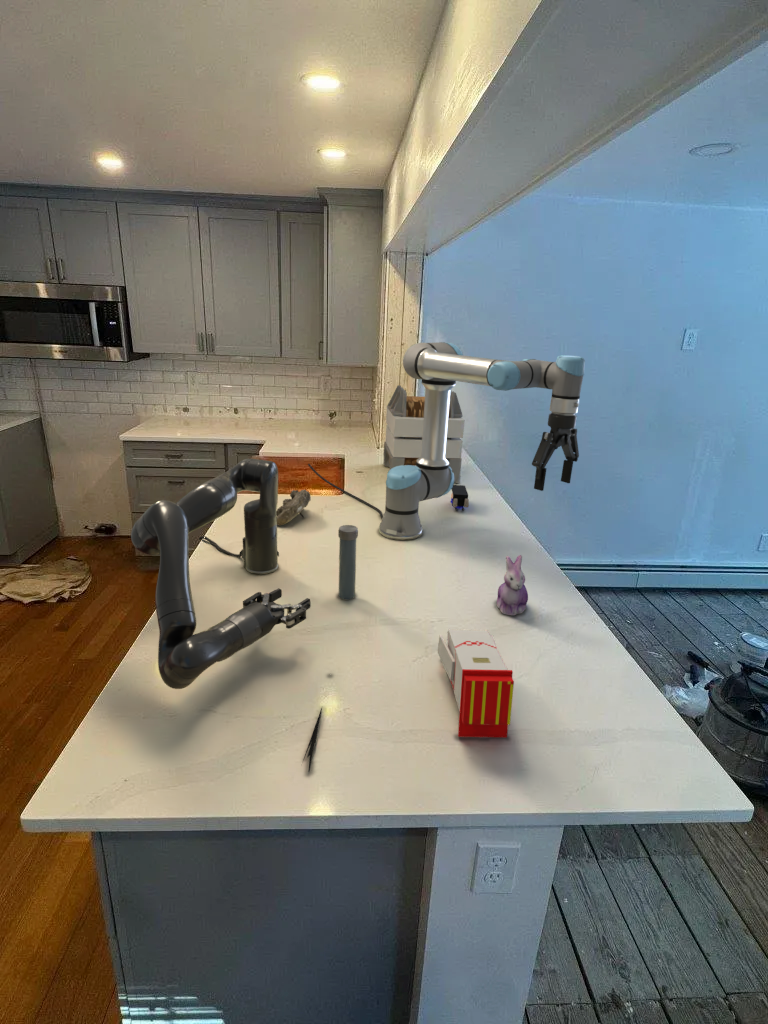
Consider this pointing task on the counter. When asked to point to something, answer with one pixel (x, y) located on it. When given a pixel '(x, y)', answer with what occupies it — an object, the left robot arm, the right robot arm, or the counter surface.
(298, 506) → the fossil
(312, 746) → the feather
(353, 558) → the bottle
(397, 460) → the white wooden crate
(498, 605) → the figurine
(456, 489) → the figurine character
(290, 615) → the left robot arm
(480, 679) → the toy
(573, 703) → the counter surface
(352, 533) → the lid
